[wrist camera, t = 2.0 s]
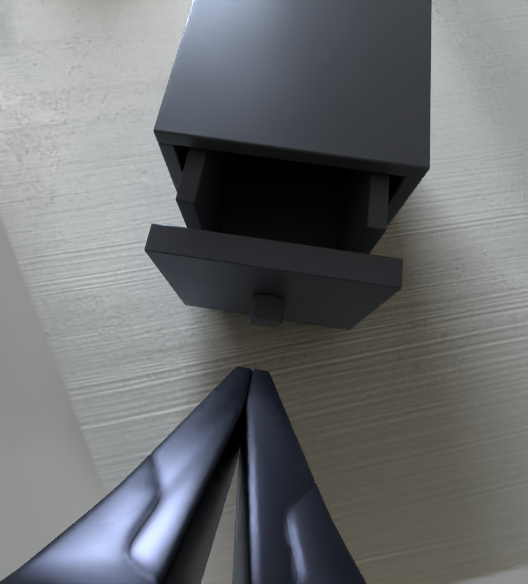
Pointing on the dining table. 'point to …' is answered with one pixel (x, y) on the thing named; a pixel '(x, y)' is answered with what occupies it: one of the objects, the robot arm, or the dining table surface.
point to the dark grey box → (305, 86)
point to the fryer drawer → (278, 240)
